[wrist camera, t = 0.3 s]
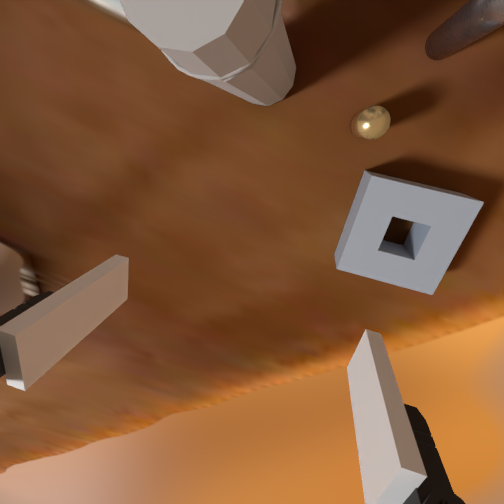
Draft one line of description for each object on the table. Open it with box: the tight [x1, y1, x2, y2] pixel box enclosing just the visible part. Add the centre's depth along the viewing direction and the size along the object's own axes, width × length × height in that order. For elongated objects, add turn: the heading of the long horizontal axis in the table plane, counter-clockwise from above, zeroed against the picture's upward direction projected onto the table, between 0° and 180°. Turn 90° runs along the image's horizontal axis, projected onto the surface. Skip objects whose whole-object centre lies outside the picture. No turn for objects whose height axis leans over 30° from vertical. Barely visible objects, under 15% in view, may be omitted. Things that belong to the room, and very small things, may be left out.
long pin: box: [425, 0, 504, 60], centre depth 23 cm, size 3×3×16 cm
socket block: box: [334, 170, 484, 295], centre depth 36 cm, size 12×12×5 cm
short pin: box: [350, 106, 391, 139], centre depth 31 cm, size 3×3×7 cm
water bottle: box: [120, 0, 296, 106], centre depth 23 cm, size 9×8×25 cm
